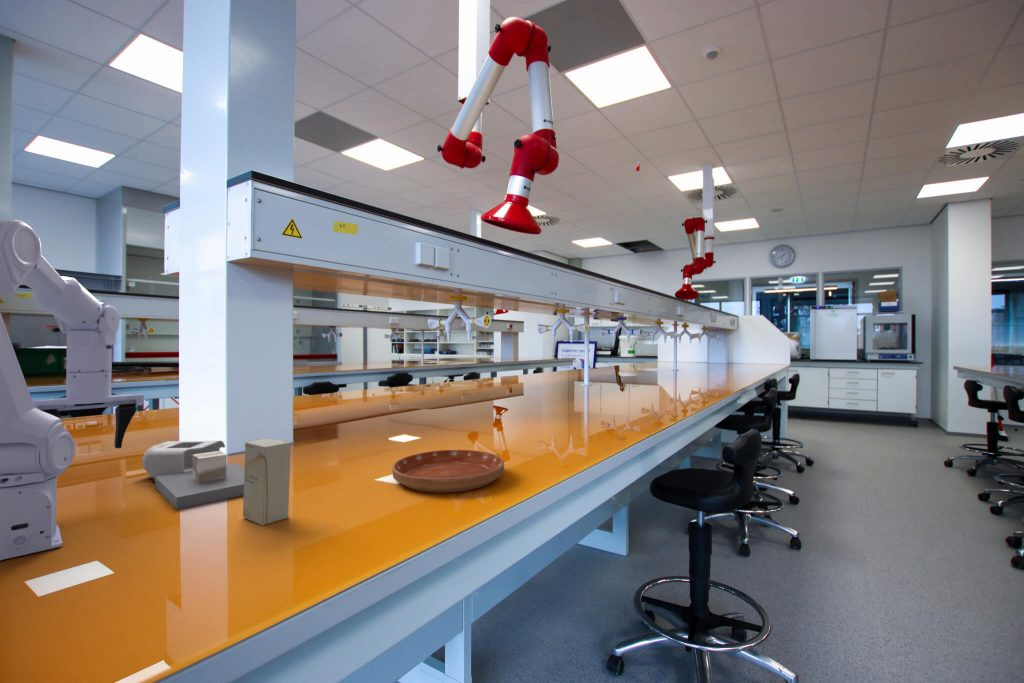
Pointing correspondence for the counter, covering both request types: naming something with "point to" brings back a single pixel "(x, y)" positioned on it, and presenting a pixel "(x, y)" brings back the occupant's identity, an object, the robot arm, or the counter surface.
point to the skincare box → (266, 480)
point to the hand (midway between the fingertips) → (88, 451)
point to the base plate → (200, 487)
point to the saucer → (448, 470)
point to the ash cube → (209, 466)
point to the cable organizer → (175, 456)
